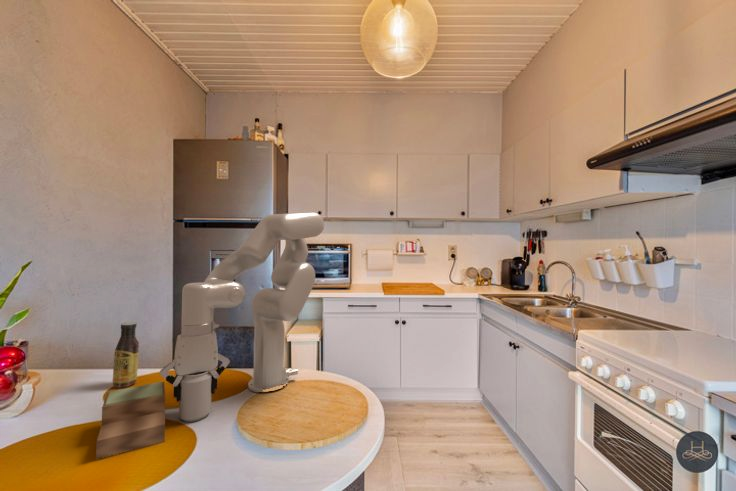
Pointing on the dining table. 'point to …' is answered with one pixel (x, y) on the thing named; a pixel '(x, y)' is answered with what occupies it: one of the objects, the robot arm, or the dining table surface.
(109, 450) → the step stand
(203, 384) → the can
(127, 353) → the sauce bottle
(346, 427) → the dining table surface
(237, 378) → the dining table surface
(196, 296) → the robot arm
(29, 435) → the dining table surface
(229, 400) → the dining table surface
